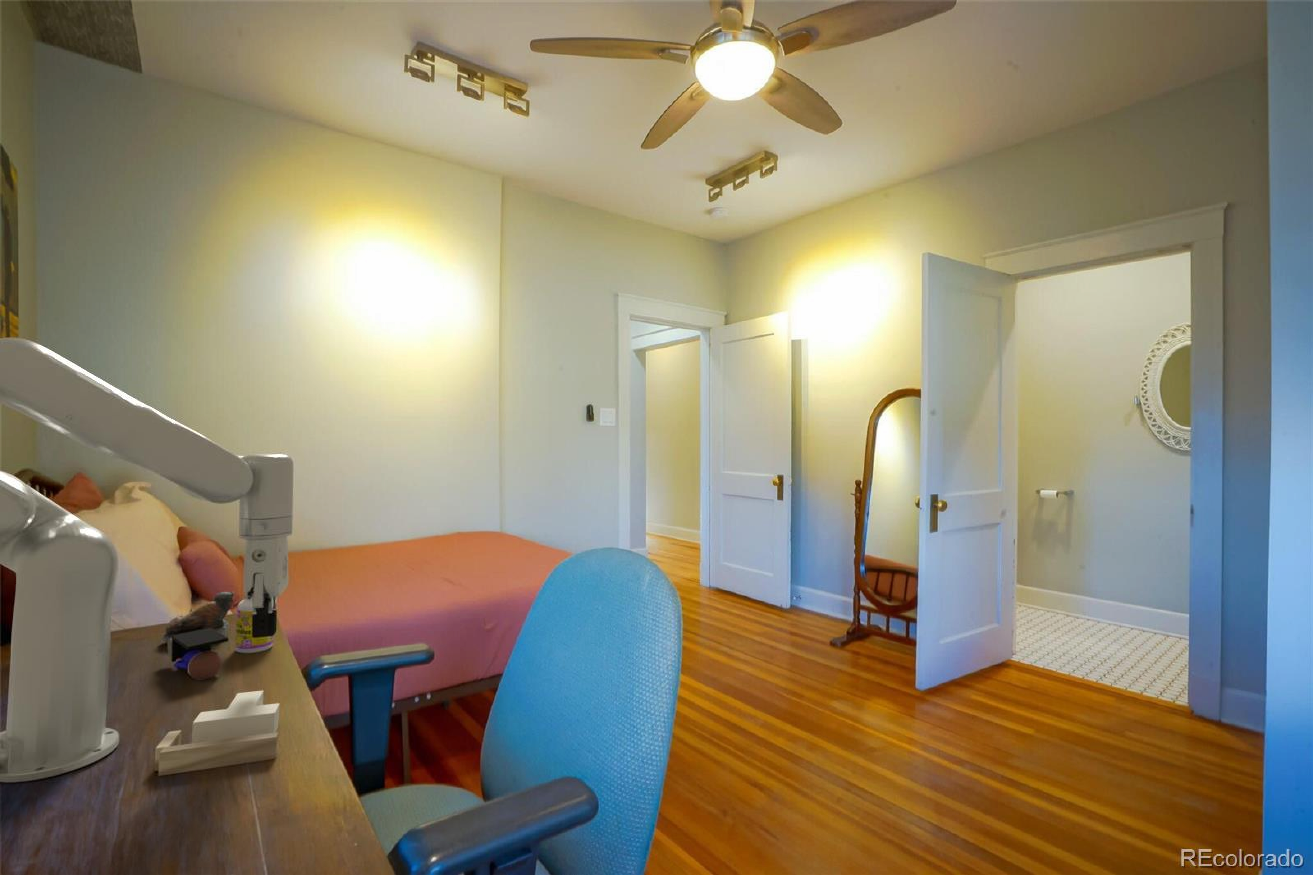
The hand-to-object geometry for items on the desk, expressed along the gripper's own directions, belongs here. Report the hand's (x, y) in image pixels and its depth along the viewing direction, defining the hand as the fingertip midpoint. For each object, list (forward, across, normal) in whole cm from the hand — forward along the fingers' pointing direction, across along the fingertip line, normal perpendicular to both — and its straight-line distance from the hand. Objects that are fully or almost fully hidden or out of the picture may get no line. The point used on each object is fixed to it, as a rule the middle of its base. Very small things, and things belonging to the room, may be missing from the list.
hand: (264, 635), depth 99 cm
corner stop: (+11, -18, +1) cm, 21 cm away
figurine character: (+11, +19, +14) cm, 26 cm away
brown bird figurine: (+12, +39, +20) cm, 45 cm away
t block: (+11, -9, +1) cm, 14 cm away
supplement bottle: (+12, +29, +7) cm, 32 cm away
